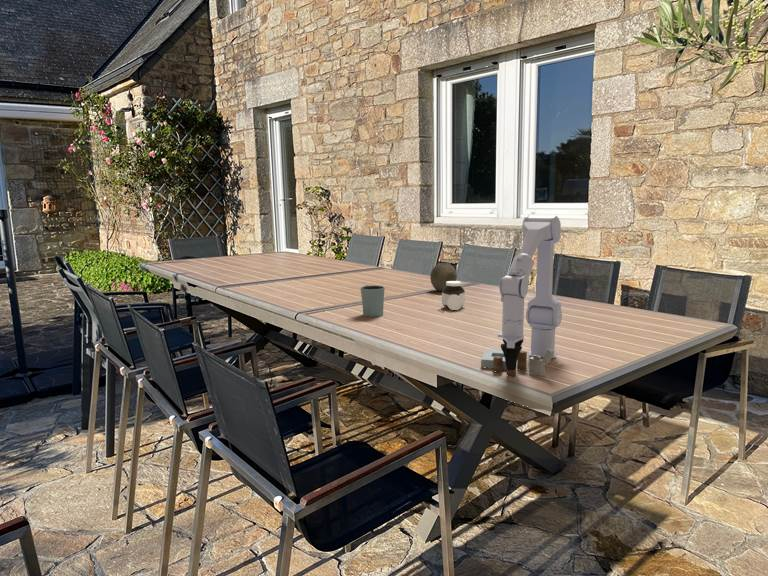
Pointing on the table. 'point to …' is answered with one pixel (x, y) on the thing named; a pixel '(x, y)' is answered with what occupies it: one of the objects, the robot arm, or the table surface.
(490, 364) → the socket block
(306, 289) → the table surface
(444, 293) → the spread jar
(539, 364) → the lighter
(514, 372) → the tall dowel
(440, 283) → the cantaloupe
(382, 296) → the grey-green cup
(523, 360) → the medium dowel
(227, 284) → the table surface
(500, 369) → the short dowel
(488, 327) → the table surface
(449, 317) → the table surface
